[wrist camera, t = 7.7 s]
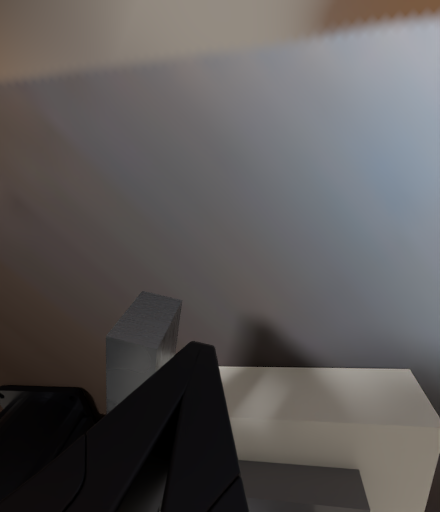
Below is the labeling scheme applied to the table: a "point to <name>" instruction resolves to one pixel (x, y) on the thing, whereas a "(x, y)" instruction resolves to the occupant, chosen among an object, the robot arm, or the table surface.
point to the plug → (302, 488)
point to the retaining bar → (140, 345)
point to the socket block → (339, 426)
